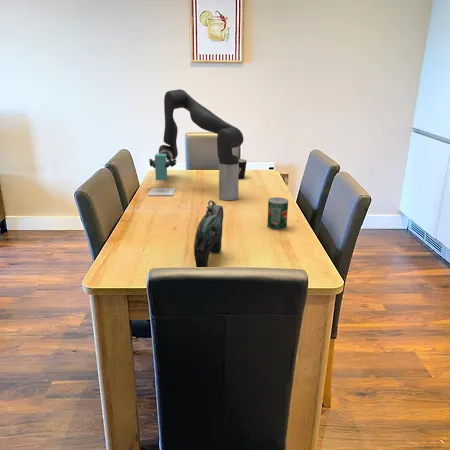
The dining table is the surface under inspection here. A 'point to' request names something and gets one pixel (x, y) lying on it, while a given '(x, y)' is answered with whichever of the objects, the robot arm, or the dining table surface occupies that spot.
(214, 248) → the dark green power tool
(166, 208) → the dining table surface
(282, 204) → the canned tomato
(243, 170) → the coffee mug
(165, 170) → the teal block
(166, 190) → the white board
